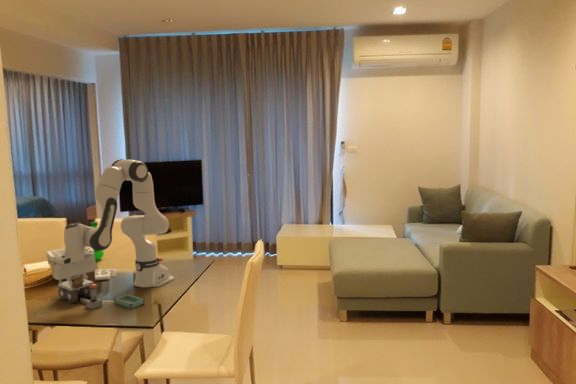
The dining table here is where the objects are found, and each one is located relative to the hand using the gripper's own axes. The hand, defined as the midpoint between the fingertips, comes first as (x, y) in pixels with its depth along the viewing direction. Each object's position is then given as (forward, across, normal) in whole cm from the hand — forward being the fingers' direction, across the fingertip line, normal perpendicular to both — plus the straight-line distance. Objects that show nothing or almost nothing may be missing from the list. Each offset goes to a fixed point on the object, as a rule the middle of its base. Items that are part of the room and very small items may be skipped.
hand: (76, 283), depth 235 cm
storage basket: (+11, -27, -50) cm, 58 cm away
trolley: (+11, -6, -4) cm, 13 cm away
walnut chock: (+2, 0, 0) cm, 2 cm away
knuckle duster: (+12, -33, -32) cm, 47 cm away
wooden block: (+11, -18, -23) cm, 31 cm away
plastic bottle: (+11, -53, -66) cm, 85 cm away
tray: (+12, -17, +18) cm, 27 cm away
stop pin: (+12, -5, +6) cm, 14 cm away
